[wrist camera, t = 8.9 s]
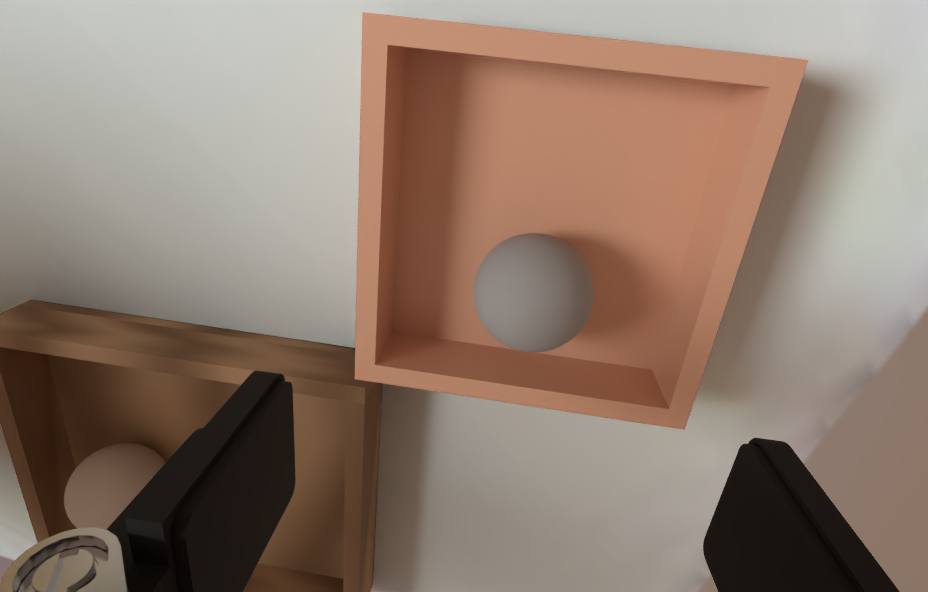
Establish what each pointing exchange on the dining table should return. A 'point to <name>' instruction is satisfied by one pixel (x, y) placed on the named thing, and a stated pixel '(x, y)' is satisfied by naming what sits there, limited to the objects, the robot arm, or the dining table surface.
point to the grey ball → (533, 292)
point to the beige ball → (108, 483)
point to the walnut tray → (193, 423)
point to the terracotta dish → (557, 204)
